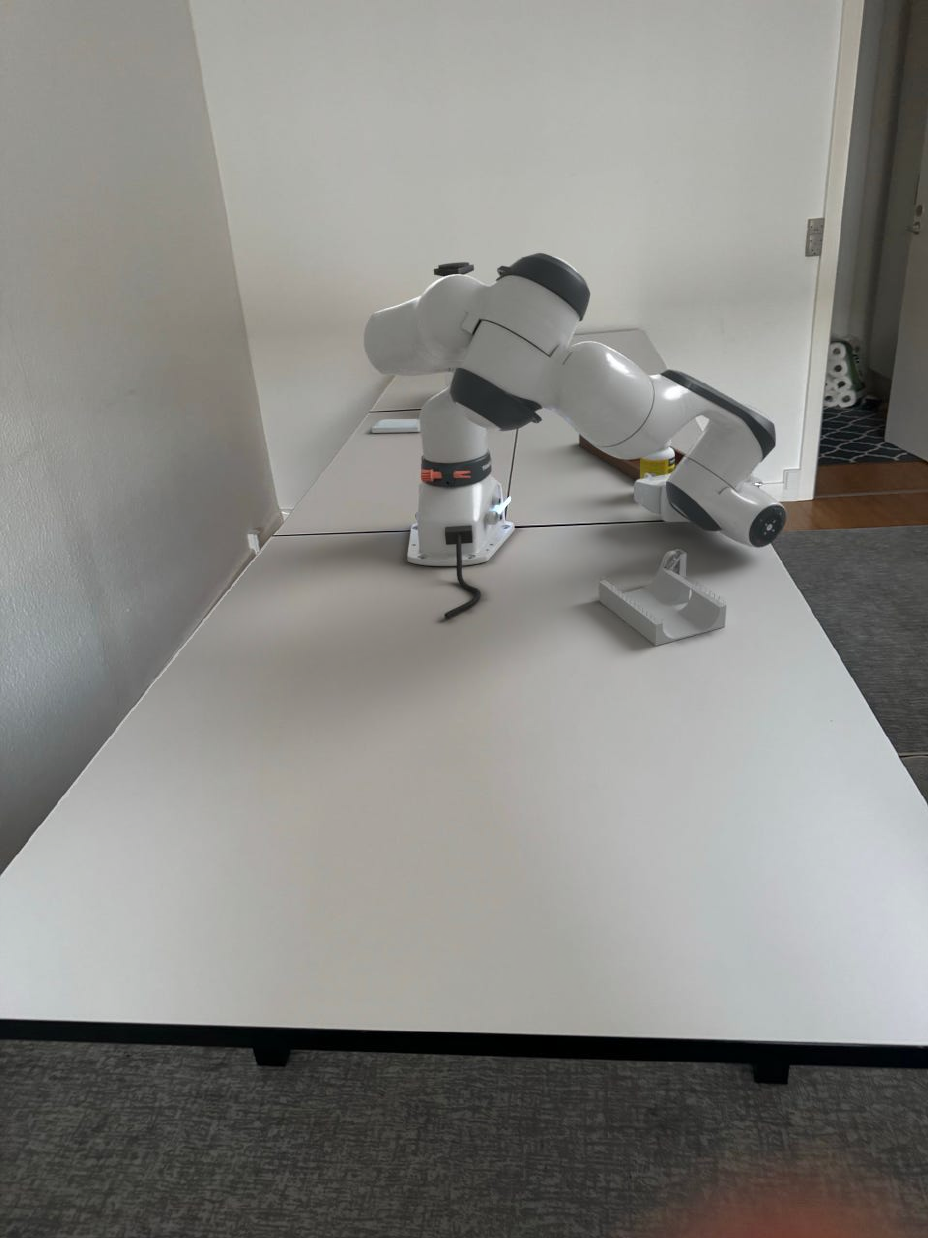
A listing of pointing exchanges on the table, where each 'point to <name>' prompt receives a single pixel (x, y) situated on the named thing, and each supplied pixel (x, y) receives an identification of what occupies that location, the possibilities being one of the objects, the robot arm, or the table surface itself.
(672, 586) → the grey plastic cradle
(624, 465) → the tray
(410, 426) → the hard drive
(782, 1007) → the table surface
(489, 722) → the table surface
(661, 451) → the pill bottle
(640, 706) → the table surface
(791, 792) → the table surface
